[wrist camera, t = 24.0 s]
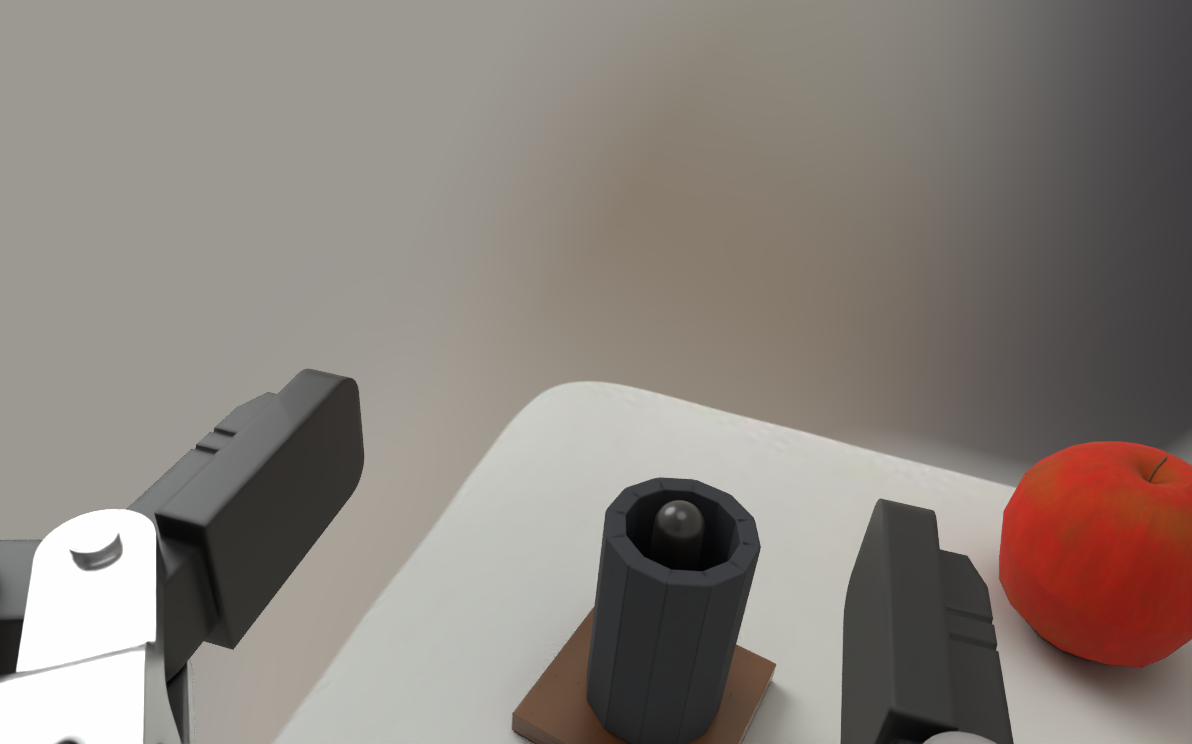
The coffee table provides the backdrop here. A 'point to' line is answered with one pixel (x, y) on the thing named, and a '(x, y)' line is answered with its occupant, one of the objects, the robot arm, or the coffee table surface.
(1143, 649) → the apple
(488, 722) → the coffee table surface
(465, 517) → the coffee table surface
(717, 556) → the sleeve
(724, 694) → the stand
